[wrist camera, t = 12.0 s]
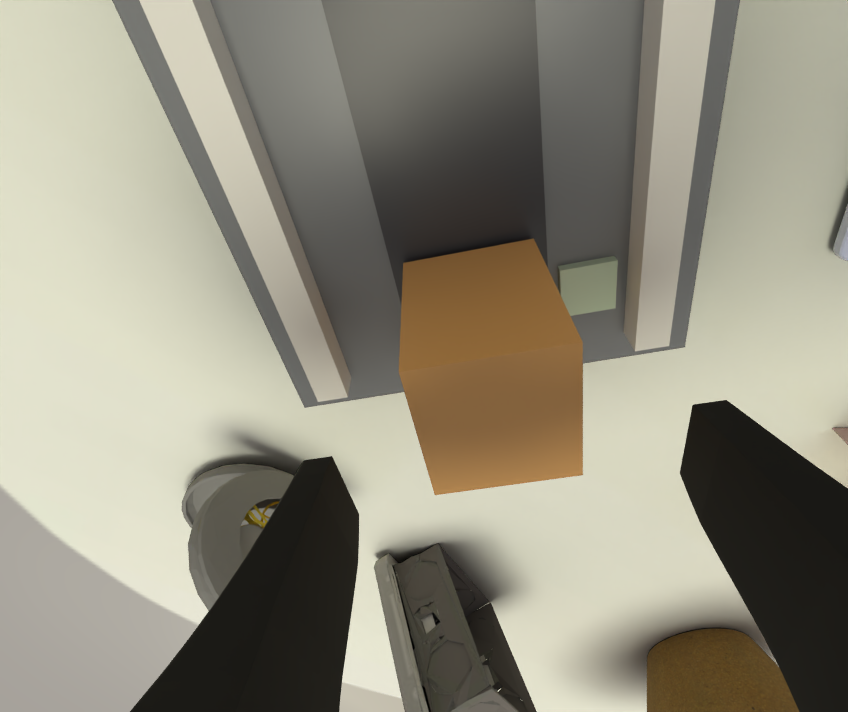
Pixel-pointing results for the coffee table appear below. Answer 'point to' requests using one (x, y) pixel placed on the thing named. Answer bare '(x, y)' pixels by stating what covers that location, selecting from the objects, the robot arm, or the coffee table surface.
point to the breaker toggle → (491, 369)
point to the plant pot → (714, 675)
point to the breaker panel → (445, 156)
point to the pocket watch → (228, 520)
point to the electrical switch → (446, 639)
